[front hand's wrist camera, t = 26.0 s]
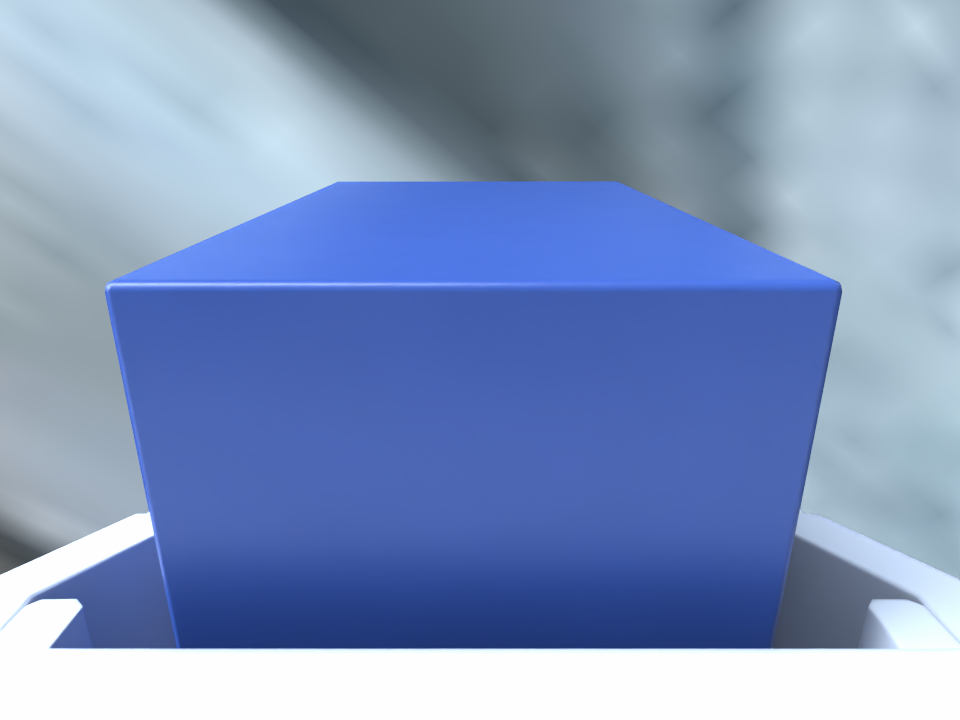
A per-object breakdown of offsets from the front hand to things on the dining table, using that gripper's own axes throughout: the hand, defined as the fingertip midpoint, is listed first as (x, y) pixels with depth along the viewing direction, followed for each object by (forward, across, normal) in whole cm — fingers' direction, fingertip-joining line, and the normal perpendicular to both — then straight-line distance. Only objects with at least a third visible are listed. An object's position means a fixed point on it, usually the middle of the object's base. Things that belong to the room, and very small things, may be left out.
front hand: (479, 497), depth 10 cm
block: (+4, 0, 0) cm, 4 cm away
